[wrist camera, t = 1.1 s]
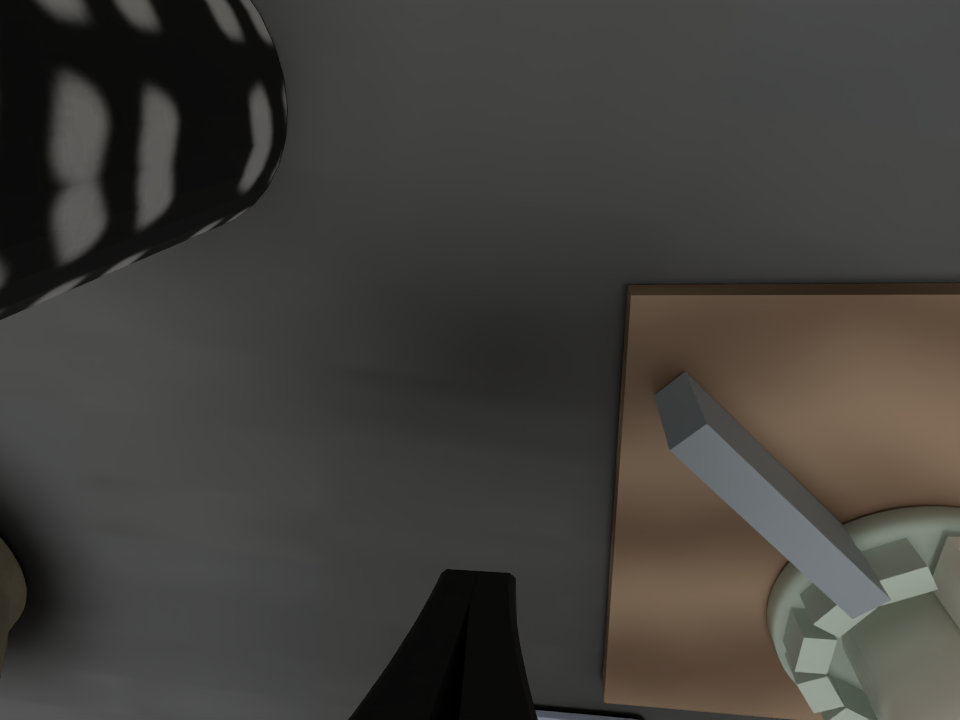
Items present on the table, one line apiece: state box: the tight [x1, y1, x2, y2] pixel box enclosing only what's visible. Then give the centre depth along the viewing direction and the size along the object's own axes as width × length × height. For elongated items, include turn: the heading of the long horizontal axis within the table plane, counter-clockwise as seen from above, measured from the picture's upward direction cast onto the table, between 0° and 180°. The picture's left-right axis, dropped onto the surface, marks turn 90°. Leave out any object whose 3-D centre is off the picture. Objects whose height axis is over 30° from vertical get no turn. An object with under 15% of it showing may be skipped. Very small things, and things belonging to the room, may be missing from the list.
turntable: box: [654, 372, 960, 720], centre depth 18 cm, size 14×14×3 cm
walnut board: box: [602, 283, 960, 720], centre depth 20 cm, size 18×20×1 cm
